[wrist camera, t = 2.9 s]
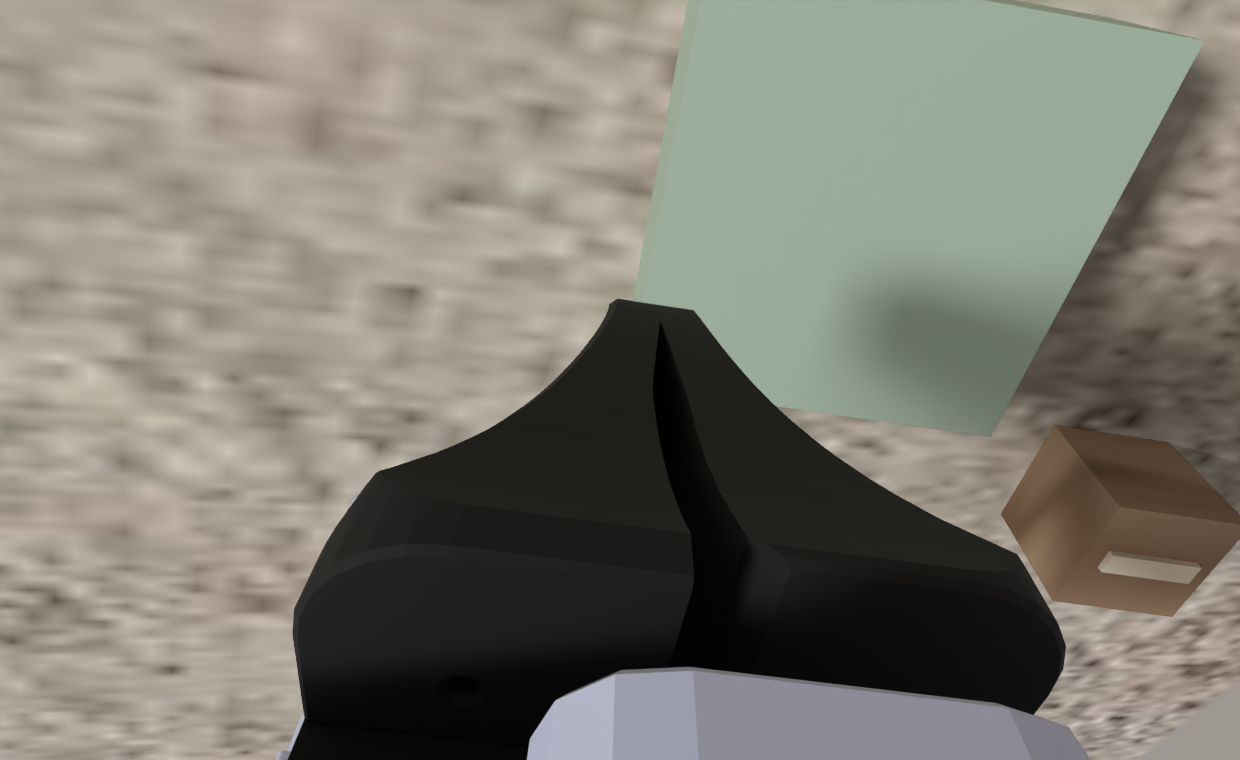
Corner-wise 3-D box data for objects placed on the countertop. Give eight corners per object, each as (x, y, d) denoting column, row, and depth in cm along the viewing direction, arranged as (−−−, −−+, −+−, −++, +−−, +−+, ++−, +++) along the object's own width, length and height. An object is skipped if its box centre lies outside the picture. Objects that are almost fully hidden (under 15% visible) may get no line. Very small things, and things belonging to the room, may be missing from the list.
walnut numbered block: (1104, 527, 27) (1175, 621, 23) (1000, 512, 26) (1055, 605, 23) (1167, 440, 25) (1255, 531, 21) (1053, 423, 24) (1124, 511, 21)
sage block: (940, 360, 23) (990, 437, 20) (629, 314, 23) (627, 384, 19) (1099, 15, 18) (1204, 40, 15) (697, -58, 17) (711, -50, 14)
